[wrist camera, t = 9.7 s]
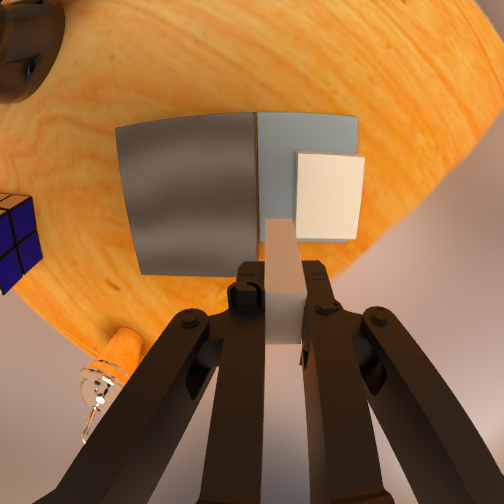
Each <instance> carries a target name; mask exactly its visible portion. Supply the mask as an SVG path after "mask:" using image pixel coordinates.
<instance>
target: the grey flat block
mask: <svg viewBox="0 0 504 504" xmlns="http://www.w3.org/2000/svg"><path fill="white" fill-rule="evenodd" d="M115 133H116V142H117V151H118V159H119V166H120V173H121V180H122V186H123V192H124V198H125V203H126V209H127V214H128V219H129V224H130V228H131V233H132V238H133V242H134V246H135V251H136V255H137V259H138V263H139V267H140V271H141V275H167V276H204V277H237V273H238V267H239V266H240V265H241V264H242V263H243V262H244V261H258V213H257V168H256V127H255V112H242V113H222V114H209V115H197V116H188V117H179V118H171V119H164V120H157V121H150V122H144V123H139V124H133V125H128V126H123V127H118V128H115Z"/></svg>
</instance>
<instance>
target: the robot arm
mask: <svg viewBox="0 0 504 504" xmlns="http://www.w3.org/2000/svg"><path fill="white" fill-rule="evenodd" d="M1 2H2V0H0V3H1ZM63 31H64V13H63V9H62V7H61V6H60V4H59V3H58V2H56V1H55V0H20V1H15V2H11V3H7V4H0V104H10V103H16V102H20V101H22V100H24V99H26V98H27V97H29V96H30V95H31V94H32V93H33V92H34V91H35V90H36V89H37V88H38V87H39V85H40V84H41V83H42V81H43V80H44V78H45V77H46V75H47V74H48V72H49V70H50V68H51V66H52V64H53V62H54V60H55V58H56V55H57V53H58V50H59V47H60V44H61V40H62V36H63ZM227 295H228V305H229V308H228V309H227V310H226V311H224V312H222V313H219V314H216V315H211V316H207V314H206V313H205V312H204V311H202V310H199V309H193V308H191V309H185V310H183V311H180V312H178V313H177V314H176V315H175V316H174V317H173V319H172V320H171V321H170V323H169V324H168V326H167V327H166V328H165V330H164V331H163V332H162V334H161V335H160V337H159V338H158V339H157V341H156V342H155V343H154V345H153V346H152V348H151V349H150V350H149V352H148V353H147V355H146V356H145V357H144V359H143V360H142V362H141V363H140V364H139V366H138V367H137V369H136V370H135V371H134V373H133V374H132V376H131V377H130V379H129V380H128V381H127V383H126V384H125V386H124V387H123V389H122V390H121V391H120V393H119V394H118V396H117V397H116V399H115V400H114V401H113V403H112V404H111V406H110V407H109V409H108V410H107V412H106V413H105V415H104V416H103V418H102V419H101V421H100V422H99V423H98V425H97V426H96V428H95V429H94V431H93V432H92V434H91V435H90V437H89V438H88V440H87V441H86V443H85V444H84V446H83V447H82V449H81V450H80V452H79V453H78V455H77V457H76V458H75V459H74V461H73V463H72V464H71V466H70V467H69V469H68V470H67V472H66V473H65V475H64V476H63V478H62V480H61V481H60V483H59V484H58V486H57V488H56V489H54V490H53V491H52V492H50V493H48V494H47V495H45V496H44V497H42V498H40V499H39V500H37V501H36V502H34V503H32V504H147V503H148V501H149V499H150V497H151V495H152V493H153V491H154V490H155V488H156V486H157V484H158V482H159V480H160V478H161V476H162V474H163V473H164V471H165V469H166V467H167V465H168V463H169V461H170V459H171V457H172V455H173V453H174V451H175V449H176V447H177V446H178V443H179V441H180V440H181V438H182V436H183V434H184V432H185V430H186V428H187V426H188V424H189V422H190V420H191V418H192V416H193V414H194V412H195V410H196V408H197V406H198V404H199V402H200V400H201V398H202V396H203V394H204V392H205V390H206V388H207V386H208V384H209V382H210V380H211V378H212V376H213V374H214V372H215V370H216V367H217V366H219V372H218V377H217V384H216V391H215V396H214V403H213V409H212V416H211V423H210V430H209V436H208V443H207V449H206V457H205V463H204V470H203V477H202V484H201V491H200V496H199V499H198V501H197V502H196V504H261V503H260V502H261V480H262V454H263V453H262V452H263V422H264V419H263V418H264V382H265V381H264V380H265V344H301V338H302V344H303V345H302V353H301V358H300V365H302V368H303V380H304V392H305V405H306V420H307V436H308V455H309V478H310V504H395V503H394V499H393V497H392V496H391V494H390V493H388V492H387V491H386V490H385V489H384V487H383V483H382V476H381V469H380V463H379V457H378V451H377V446H376V441H375V435H374V430H373V426H372V420H371V416H370V411H369V407H368V402H369V404H370V406H371V408H372V410H373V412H374V414H375V416H376V418H377V420H378V422H379V424H380V425H381V427H382V429H383V431H384V433H385V435H386V437H387V439H388V441H389V443H390V445H391V447H392V449H393V451H394V453H395V455H396V457H397V459H398V461H399V463H400V465H401V468H402V470H403V471H404V474H405V475H406V478H407V480H408V482H409V484H410V486H411V488H412V490H413V493H414V495H415V497H416V499H417V501H418V503H419V504H504V475H503V474H502V473H501V471H500V469H499V468H498V466H497V464H496V462H495V460H494V458H493V457H492V455H491V453H490V451H489V449H488V448H487V446H486V444H485V443H484V441H483V439H482V438H481V436H480V434H479V433H478V431H477V430H476V428H475V426H474V425H473V423H472V421H471V420H470V418H469V417H468V415H467V413H466V412H465V410H464V409H463V407H462V406H461V404H460V403H459V401H458V400H457V398H456V397H455V395H454V394H453V393H452V391H451V389H450V388H449V387H448V385H447V384H446V382H445V381H444V379H443V378H442V377H441V375H440V374H439V372H437V370H436V368H435V367H434V365H433V364H432V363H431V362H430V360H429V359H428V357H427V356H426V355H425V353H424V352H423V351H422V349H421V348H420V347H419V345H418V344H417V343H416V341H415V340H414V339H413V338H412V336H411V335H410V334H409V332H408V331H407V330H406V329H405V327H404V326H403V325H402V324H401V322H400V321H399V320H398V319H397V317H396V316H395V315H394V314H393V313H392V312H391V311H390V310H388V309H386V308H384V307H379V306H376V307H370V308H368V309H366V310H365V312H364V313H363V315H361V314H357V313H352V312H348V311H346V310H344V309H343V307H342V306H341V304H340V303H339V302H338V301H337V300H335V299H334V295H333V291H332V288H331V285H330V281H329V278H328V275H327V272H326V268H325V266H324V265H323V264H322V263H321V262H320V261H301V257H300V252H299V247H298V242H297V237H296V232H295V228H294V223H293V218H265V261H244V262H243V263H242V264H241V265H240V266H239V267H238V273H237V279H236V282H234V283H233V284H231V285H230V286H229V287H228V289H227ZM367 400H368V402H367Z"/></svg>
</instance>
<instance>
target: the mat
mask: <svg viewBox="0 0 504 504" xmlns="http://www.w3.org/2000/svg"><path fill="white" fill-rule="evenodd" d="M257 127H258V171H259V223H260V242H265V218H293V223H294V213H295V179H296V150H297V151H322V152H339V153H352V154H356V152H357V131H358V117H354V116H344V115H332V114H318V113H296V112H257ZM297 242H348V239H324V238H297Z"/></svg>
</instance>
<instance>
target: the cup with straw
mask: <svg viewBox="0 0 504 504" xmlns="http://www.w3.org/2000/svg"><path fill="white" fill-rule="evenodd" d="M142 345H143V340H142V338H141V337H140V336H139V335H138V334H137V333H136V332H135V331H133V330H131V329H129V328H120V329H118V330H117V333H115V334H114V336H113V337H112V338H111V339H110V341H109V342H108V343H107V345H106V346H105V347H104V349H103V350H102V351H101V353H100V354H99V356H98V357H97V358H96V359H95V360H94V361H93V362H92V363H91V364H90V365H89V366H86V367H82V368H81V369H80V371H79V375H78V377H79V381H80V382H81V384H80V389H81V395H82V397H83V399H84V401H85V402H86V404H87V405H88V406H89V407H90V408H91V409H92V411H91V413H90V416H89V418H88V420H87V422H86V425H85V427H84V430H83V432H82V435H81V439H82V442H83V443H84V444H85V443H86V441H87V438H86V437H87V435H88V432H89V430H90V427H91V425H92V422H93V420H94V418H95V415H96V413H97V412H98V413H101V414H105V413H106V412H107V410H108V409H109V407H110V406H111V404H112V403H113V401H114V400H115V399H116V397H117V396H118V394H119V393H120V391H121V390H122V389H123V387H124V386H125V384H126V383H127V381H128V380H129V379H130V377H131V376H132V374H133V373H134V371H135V370H136V366H137V363H138V359H139V356H140V352H141V346H142Z"/></svg>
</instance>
